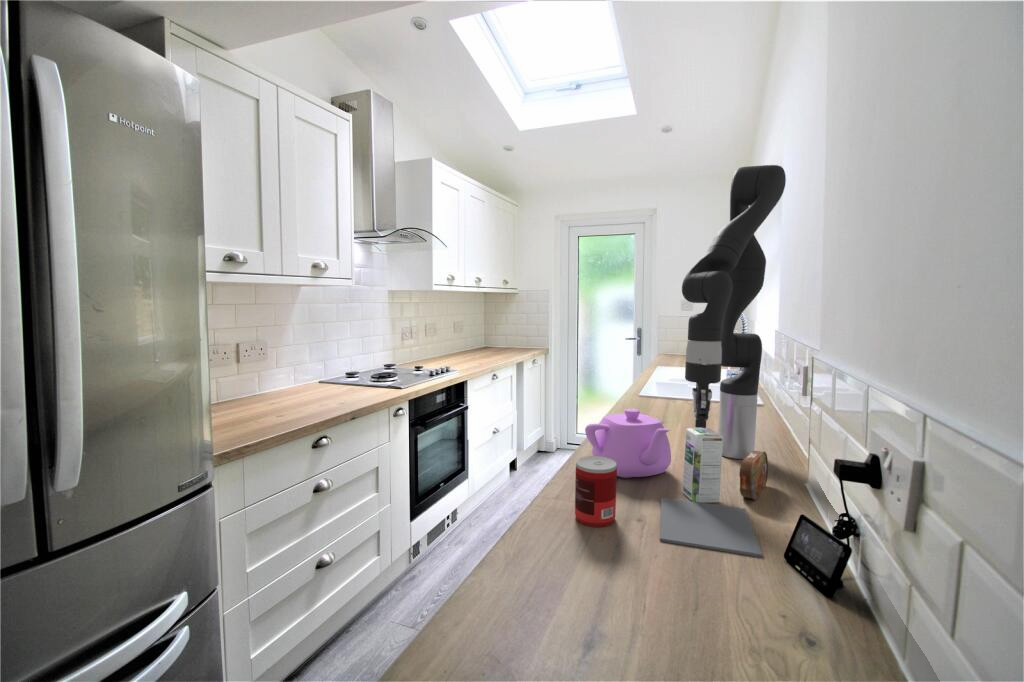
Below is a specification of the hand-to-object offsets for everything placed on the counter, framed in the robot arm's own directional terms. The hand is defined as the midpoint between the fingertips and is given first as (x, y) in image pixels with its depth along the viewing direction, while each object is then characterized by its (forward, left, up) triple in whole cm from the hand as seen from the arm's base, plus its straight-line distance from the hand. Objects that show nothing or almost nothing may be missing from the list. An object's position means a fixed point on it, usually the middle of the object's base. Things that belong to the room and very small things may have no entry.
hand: (700, 435), depth 108 cm
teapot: (-3, -15, -11) cm, 19 cm away
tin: (+2, +11, -11) cm, 16 cm away
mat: (+22, 0, -11) cm, 25 cm away
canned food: (+26, -20, -11) cm, 35 cm away
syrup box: (+9, 0, -11) cm, 14 cm away
